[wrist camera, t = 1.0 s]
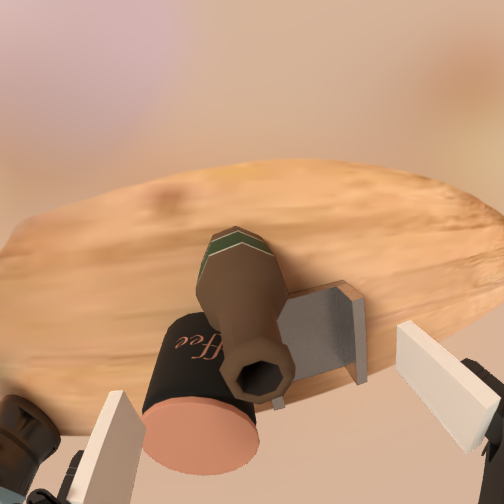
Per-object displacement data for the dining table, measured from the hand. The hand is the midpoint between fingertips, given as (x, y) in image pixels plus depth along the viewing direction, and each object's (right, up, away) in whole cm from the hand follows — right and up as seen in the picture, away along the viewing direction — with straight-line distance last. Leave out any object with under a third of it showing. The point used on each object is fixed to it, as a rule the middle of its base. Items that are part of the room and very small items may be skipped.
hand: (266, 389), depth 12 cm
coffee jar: (-7, -6, +26) cm, 28 cm away
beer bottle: (-3, +6, +24) cm, 25 cm away
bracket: (+6, -5, +27) cm, 29 cm away
